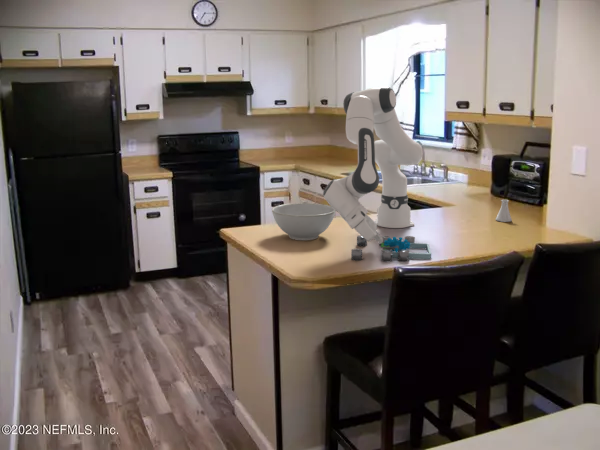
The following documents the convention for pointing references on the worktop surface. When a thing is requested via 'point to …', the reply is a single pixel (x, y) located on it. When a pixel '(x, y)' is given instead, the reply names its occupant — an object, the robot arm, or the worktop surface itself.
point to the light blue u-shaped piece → (417, 255)
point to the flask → (504, 212)
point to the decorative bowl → (303, 219)
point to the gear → (395, 244)
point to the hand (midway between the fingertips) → (382, 241)
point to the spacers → (385, 254)
